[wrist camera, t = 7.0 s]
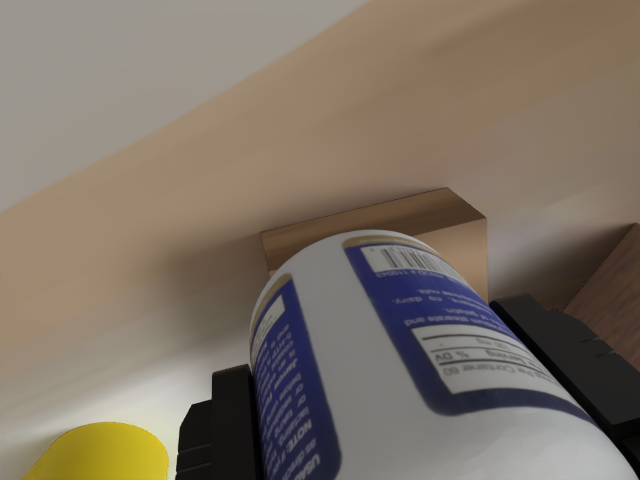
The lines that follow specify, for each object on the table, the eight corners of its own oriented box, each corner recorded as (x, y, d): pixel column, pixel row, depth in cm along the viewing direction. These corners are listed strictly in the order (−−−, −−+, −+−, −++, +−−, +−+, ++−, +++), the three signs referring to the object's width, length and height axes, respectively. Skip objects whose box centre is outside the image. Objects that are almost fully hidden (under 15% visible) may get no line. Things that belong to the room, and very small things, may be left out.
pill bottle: (318, 432, 14) (458, 1032, 6) (203, 303, 11) (166, 1037, 3) (487, 334, 13) (890, 833, 5) (405, 178, 11) (928, 667, 3)
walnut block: (260, 232, 30) (268, 271, 25) (447, 187, 31) (486, 217, 26) (298, 379, 35) (310, 433, 31) (456, 337, 36) (489, 383, 32)
